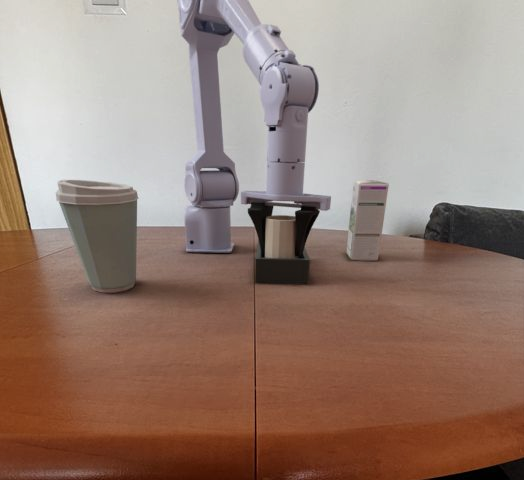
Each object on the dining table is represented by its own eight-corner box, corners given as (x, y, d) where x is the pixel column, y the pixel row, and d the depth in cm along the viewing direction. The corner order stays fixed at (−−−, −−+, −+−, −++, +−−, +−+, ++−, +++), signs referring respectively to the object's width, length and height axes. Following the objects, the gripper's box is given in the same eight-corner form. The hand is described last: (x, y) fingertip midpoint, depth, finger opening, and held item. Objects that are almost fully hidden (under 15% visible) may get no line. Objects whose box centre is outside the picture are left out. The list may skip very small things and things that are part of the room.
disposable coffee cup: (145, 274, 64) (133, 178, 57) (153, 294, 55) (140, 183, 48) (77, 280, 61) (55, 178, 54) (74, 302, 52) (47, 184, 45)
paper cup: (259, 268, 63) (260, 218, 59) (272, 261, 68) (274, 214, 64) (290, 273, 61) (293, 221, 57) (302, 265, 66) (305, 216, 62)
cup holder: (255, 283, 61) (255, 258, 59) (258, 258, 76) (258, 237, 74) (307, 284, 61) (309, 259, 59) (300, 259, 76) (302, 238, 74)
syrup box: (378, 261, 76) (391, 182, 69) (349, 260, 76) (359, 181, 69) (371, 254, 81) (383, 180, 74) (344, 253, 81) (353, 179, 74)
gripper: (339, 163, 57) (330, 252, 64) (254, 160, 63) (253, 243, 69) (326, 164, 52) (318, 262, 58) (234, 161, 57) (235, 251, 63)
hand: (282, 252), depth 63 cm, fingers closed on paper cup, 5 cm apart
